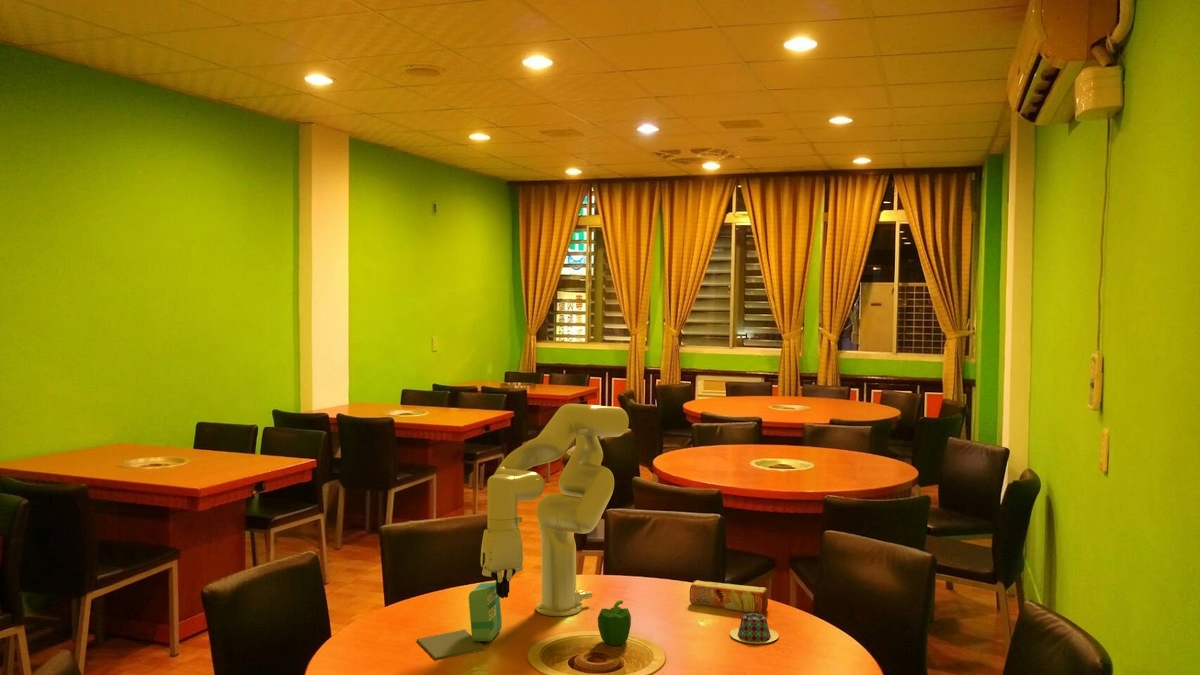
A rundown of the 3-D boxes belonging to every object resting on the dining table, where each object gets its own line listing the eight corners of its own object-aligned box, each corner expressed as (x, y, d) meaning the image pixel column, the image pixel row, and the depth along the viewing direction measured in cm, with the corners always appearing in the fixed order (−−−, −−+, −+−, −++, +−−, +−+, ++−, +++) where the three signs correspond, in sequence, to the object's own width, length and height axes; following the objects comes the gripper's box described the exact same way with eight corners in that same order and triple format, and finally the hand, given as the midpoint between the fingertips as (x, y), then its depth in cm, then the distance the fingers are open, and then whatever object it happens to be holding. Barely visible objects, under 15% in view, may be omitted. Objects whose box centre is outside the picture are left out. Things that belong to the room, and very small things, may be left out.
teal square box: (490, 642, 217) (485, 592, 218) (472, 643, 218) (467, 593, 219) (502, 628, 229) (498, 581, 230) (485, 629, 230) (481, 582, 231)
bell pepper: (608, 651, 214) (608, 609, 214) (592, 640, 222) (592, 600, 221) (638, 644, 218) (638, 604, 218) (622, 634, 225) (622, 595, 225)
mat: (464, 631, 228) (464, 629, 228) (485, 649, 216) (485, 647, 216) (417, 640, 222) (417, 638, 222) (435, 659, 210) (435, 657, 210)
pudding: (777, 630, 228) (777, 609, 228) (779, 647, 216) (779, 626, 216) (730, 627, 230) (730, 607, 230) (729, 644, 218) (729, 623, 218)
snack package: (688, 606, 247) (687, 582, 247) (696, 599, 253) (696, 575, 253) (762, 617, 237) (762, 592, 237) (769, 610, 243) (769, 585, 243)
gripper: (523, 518, 232) (523, 588, 232) (469, 524, 225) (469, 597, 225) (535, 523, 225) (535, 596, 226) (480, 530, 218) (480, 605, 218)
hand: (502, 596), depth 225 cm, fingers closed
